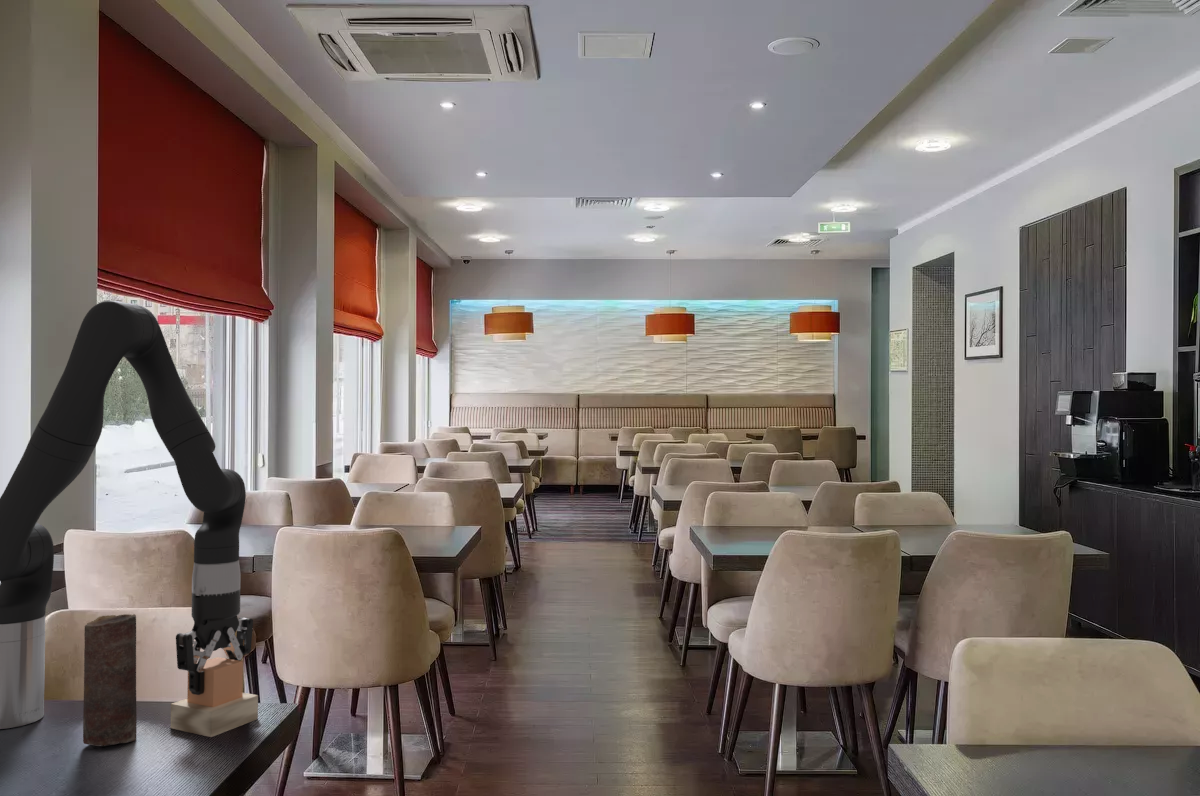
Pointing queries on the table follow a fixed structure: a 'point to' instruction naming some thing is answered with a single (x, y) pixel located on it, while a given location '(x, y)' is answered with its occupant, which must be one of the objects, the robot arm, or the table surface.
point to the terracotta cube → (219, 682)
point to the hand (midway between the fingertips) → (215, 687)
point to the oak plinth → (214, 715)
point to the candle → (110, 681)
